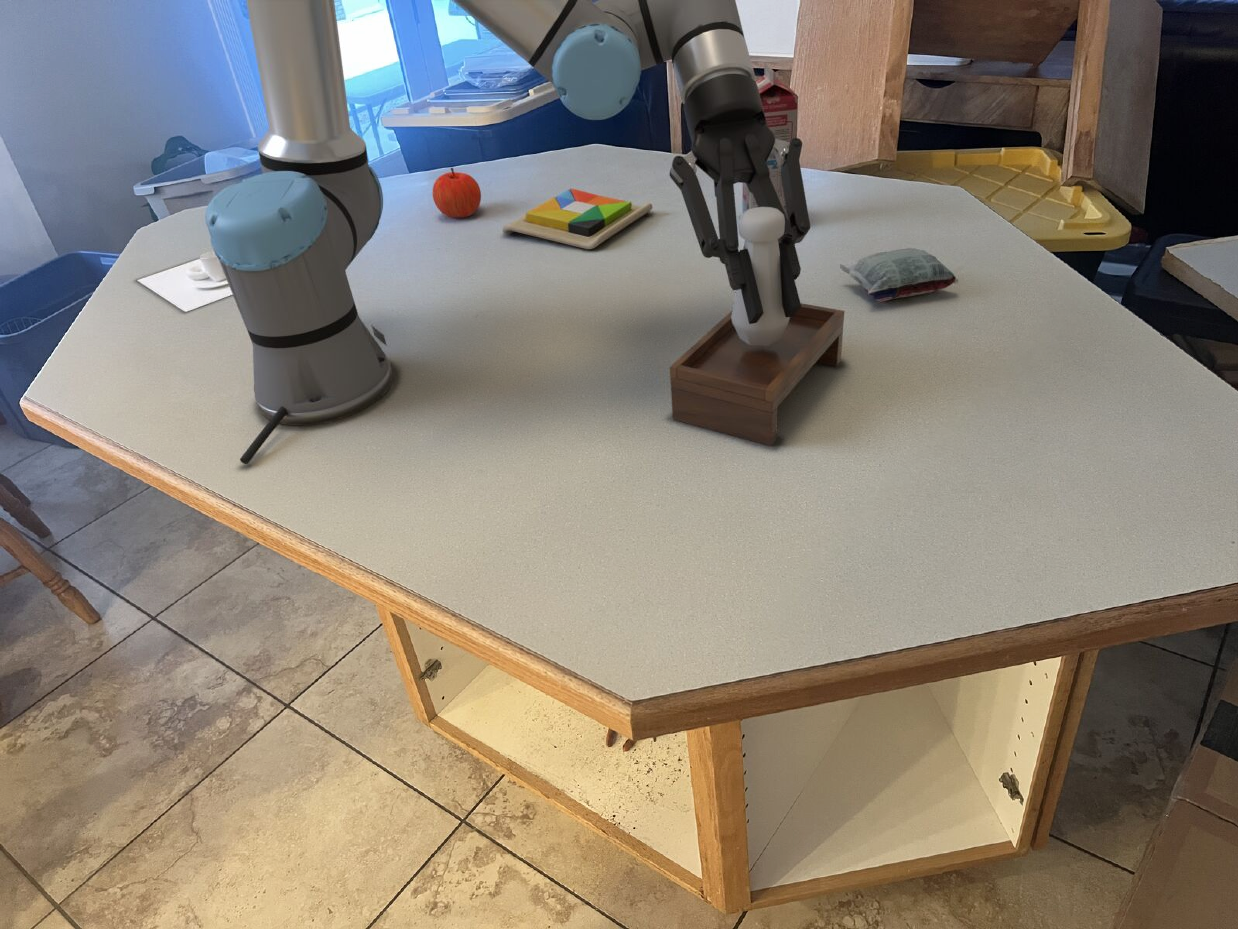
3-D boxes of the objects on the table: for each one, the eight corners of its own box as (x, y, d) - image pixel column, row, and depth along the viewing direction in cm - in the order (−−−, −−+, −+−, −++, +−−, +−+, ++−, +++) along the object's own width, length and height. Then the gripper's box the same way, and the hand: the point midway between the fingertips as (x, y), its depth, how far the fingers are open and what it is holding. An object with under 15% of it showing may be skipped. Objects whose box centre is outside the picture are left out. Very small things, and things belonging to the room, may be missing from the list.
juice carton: (749, 232, 124) (750, 74, 111) (742, 217, 129) (742, 64, 116) (793, 228, 123) (799, 69, 111) (784, 213, 129) (789, 60, 116)
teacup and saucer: (182, 281, 128) (171, 256, 126) (231, 264, 132) (221, 240, 130) (204, 295, 123) (194, 269, 120) (254, 276, 127) (245, 251, 124)
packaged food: (838, 283, 106) (841, 247, 103) (924, 269, 108) (929, 233, 105) (867, 312, 100) (871, 274, 97) (958, 297, 101) (965, 259, 98)
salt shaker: (787, 351, 81) (792, 222, 73) (729, 350, 82) (727, 223, 74) (789, 323, 85) (794, 199, 78) (734, 323, 87) (733, 201, 79)
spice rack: (771, 446, 79) (772, 391, 75) (672, 419, 84) (669, 366, 81) (840, 362, 91) (844, 310, 87) (749, 342, 96) (750, 293, 92)
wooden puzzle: (598, 252, 123) (596, 229, 120) (499, 237, 131) (496, 216, 129) (656, 213, 134) (654, 191, 132) (561, 201, 143) (559, 181, 141)
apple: (429, 217, 142) (418, 170, 138) (467, 204, 147) (458, 158, 142) (454, 226, 137) (444, 178, 133) (493, 212, 141) (484, 165, 137)
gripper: (785, 104, 86) (840, 314, 83) (636, 127, 84) (687, 342, 81) (807, 58, 79) (869, 286, 75) (645, 81, 77) (700, 316, 74)
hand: (774, 314), depth 78 cm, fingers closed on salt shaker, 3 cm apart
